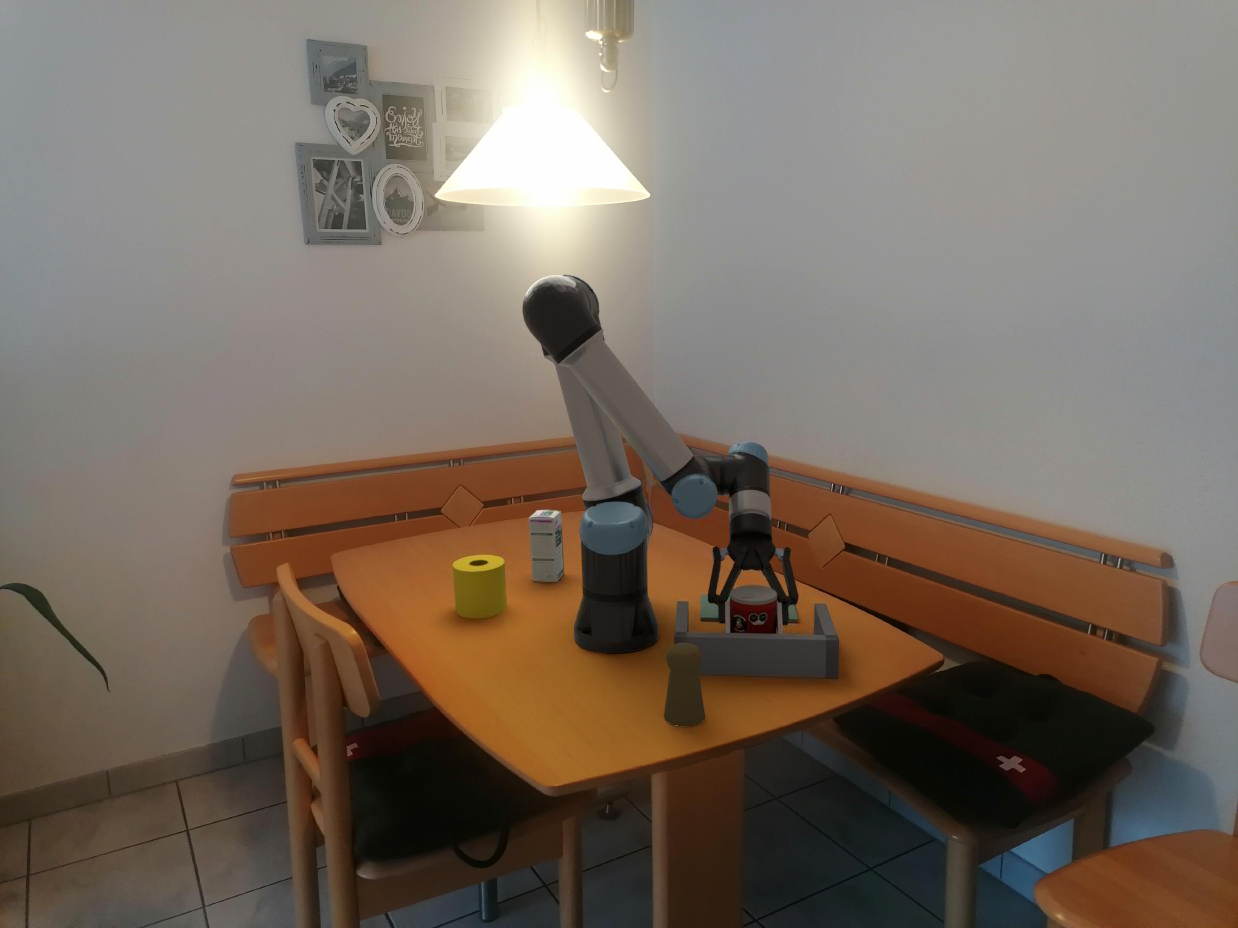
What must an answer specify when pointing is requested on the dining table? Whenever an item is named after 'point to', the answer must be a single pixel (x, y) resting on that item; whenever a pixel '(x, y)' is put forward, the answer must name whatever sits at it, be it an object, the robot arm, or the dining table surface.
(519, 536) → the dining table surface
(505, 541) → the dining table surface
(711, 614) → the green mat
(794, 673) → the open box
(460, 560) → the tape roll
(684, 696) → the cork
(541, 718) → the dining table surface
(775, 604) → the canned food
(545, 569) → the syrup box
